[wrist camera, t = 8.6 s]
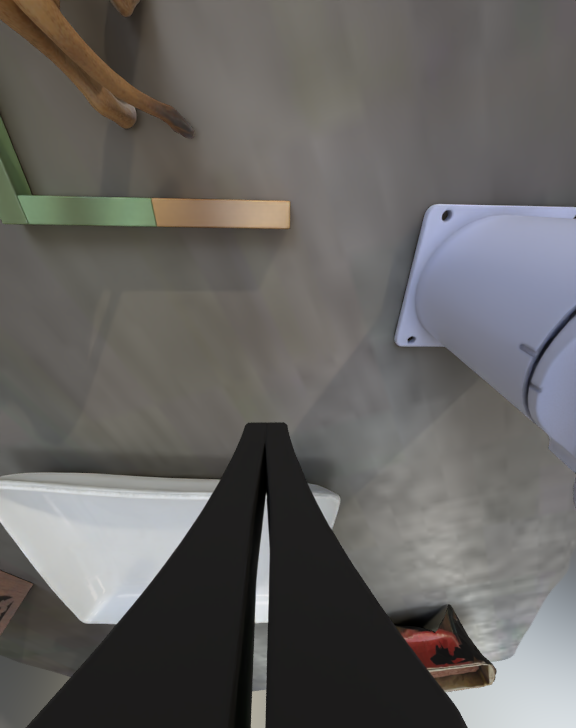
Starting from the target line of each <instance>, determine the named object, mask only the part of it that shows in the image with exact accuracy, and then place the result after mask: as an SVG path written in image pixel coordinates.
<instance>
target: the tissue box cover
mask: <svg viewBox="0 0 576 728" xmlns="http://www.w3.org/2000/svg"><path fill="white" fill-rule="evenodd" d="M32 585H33V584H32V583H30V582H27V581H25V580H22V579H20V578H17V577H15V576H12V575H10V574H7V573H5V572H2V571H0V635H1V634H2V632H3V631H4V629H5V627H6V626H7V624H8V623H9V621H10V620H11V618H12V616H13V615H14V613H15V612H16V610H17V609H18V607H19V605H20V604H21V602H22V601H23V599H24V598H25V596H26V594H27V593H28V591H29V590H30V588H31V587H32Z"/></svg>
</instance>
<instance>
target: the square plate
mask: <svg viewBox="0 0 576 728" xmlns="http://www.w3.org/2000/svg"><path fill="white" fill-rule="evenodd" d="M220 480H221V479H187V478H160V477H143V476H127V475H112V474H96V473H56V472H41V473H19V474H12V475H6V476H0V522H1V524H2V525H3V526H4V528H5V529H6V531H7V532H8V533H9V535H10V536H11V537H12V538H13V540H14V541H15V542H16V544H17V545H18V546H19V548H20V549H21V551H22V552H23V553H24V555H25V556H26V557H27V559H28V560H29V561H30V562H31V564H32V565H33V566H34V568H35V569H36V570H37V571H38V573H39V574H40V575H41V576H42V578H43V579H44V580H45V581H46V583H47V584H48V585H49V586H50V588H51V589H52V590H53V591H54V592H55V594H56V595H57V596H58V597H59V598H60V599H61V600H62V601H63V602H64V604H65V605H66V606H67V607H68V608H69V609H70V610H71V611H72V612H73V613H74V614H75V615H76V616H77V618H78V619H79V620H81V621H82V622H83V623H88V624H90V623H97V624H117V623H118V622H119V621H120V620H121V618H122V617H123V616H124V615H125V613H126V612H127V611H128V610H129V609H130V607H131V606H132V605H133V604H134V603H135V601H136V600H137V599H138V598H139V596H140V595H141V594H142V593H143V592H144V590H145V589H146V588H147V587H148V585H149V584H150V583H151V581H152V580H153V579H154V577H155V576H156V575H157V574H158V572H159V571H160V570H161V568H162V567H163V566H164V564H165V563H166V561H167V560H168V559H169V557H170V556H171V555H172V553H173V552H174V551H175V549H176V548H177V547H178V545H179V544H180V542H181V541H182V540H183V538H184V537H185V535H186V534H187V532H188V531H189V529H190V528H191V526H192V525H193V523H194V522H195V520H196V519H197V517H198V516H199V514H200V513H201V511H202V510H203V508H204V506H205V505H206V503H207V502H208V500H209V498H210V496H211V495H212V493H213V491H214V490H215V488H216V486H217V485H218V483H219V481H220ZM308 485H309V487H310V490H311V492H312V494H313V496H314V498H315V500H316V502H317V504H318V506H319V508H320V509H321V511H322V513H323V515H324V517H325V519H326V521H327V522H328V524H329V526H330V528H331V529H332V528H333V525H334V522H335V519H336V516H337V513H338V510H339V506H340V501H341V500H340V497H339V495H338V494H336V493H334V492H332V491H330V490H328V489H326V488H324V487H321V486H319V485H315V484H310V483H308ZM269 561H270V547H269V530H268V513H267V496H266V499H265V508H264V516H263V525H262V533H261V542H260V551H259V559H258V569H257V581H256V603H255V623H265V622H268V605H269Z"/></svg>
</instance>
